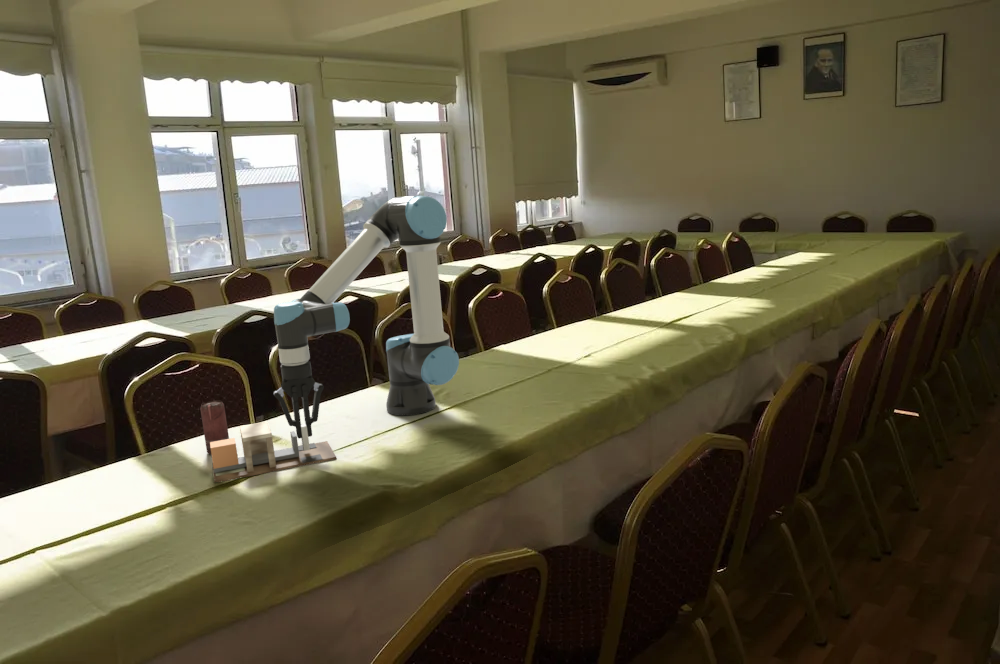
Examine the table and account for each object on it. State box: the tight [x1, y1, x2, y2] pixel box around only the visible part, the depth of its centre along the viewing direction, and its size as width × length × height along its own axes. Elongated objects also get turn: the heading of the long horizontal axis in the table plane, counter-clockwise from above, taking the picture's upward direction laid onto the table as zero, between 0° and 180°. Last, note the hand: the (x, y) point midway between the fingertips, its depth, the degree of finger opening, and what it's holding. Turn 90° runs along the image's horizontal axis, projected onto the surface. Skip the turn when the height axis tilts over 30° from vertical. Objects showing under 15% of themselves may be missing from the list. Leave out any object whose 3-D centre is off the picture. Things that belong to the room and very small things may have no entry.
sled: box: [210, 430, 299, 473], centre depth 201 cm, size 21×5×6 cm, turn 112°
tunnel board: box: [212, 420, 337, 483], centre depth 203 cm, size 30×14×10 cm, turn 112°
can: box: [199, 400, 230, 456], centre depth 213 cm, size 6×6×14 cm
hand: (306, 448), depth 206 cm, fingers closed
